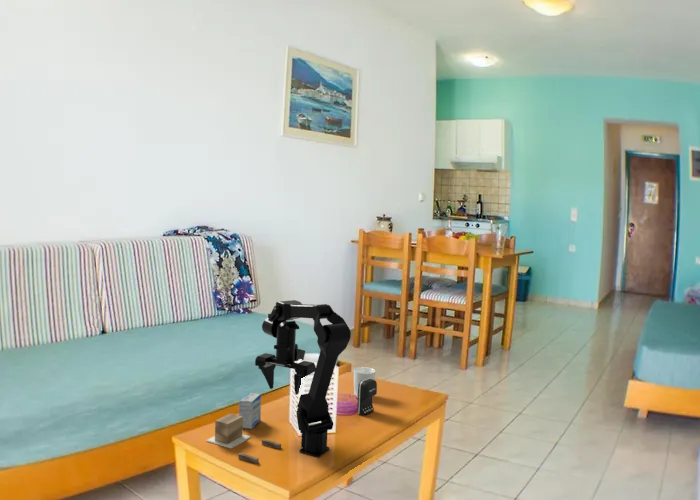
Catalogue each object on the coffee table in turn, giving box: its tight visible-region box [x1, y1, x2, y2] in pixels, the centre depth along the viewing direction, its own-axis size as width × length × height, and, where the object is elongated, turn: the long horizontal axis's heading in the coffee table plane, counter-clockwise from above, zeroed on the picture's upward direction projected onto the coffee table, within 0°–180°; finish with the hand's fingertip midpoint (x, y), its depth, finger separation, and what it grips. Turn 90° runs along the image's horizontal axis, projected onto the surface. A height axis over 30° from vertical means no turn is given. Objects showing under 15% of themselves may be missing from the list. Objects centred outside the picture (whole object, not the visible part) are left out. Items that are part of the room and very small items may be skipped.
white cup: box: [353, 366, 376, 396], centre depth 216 cm, size 8×8×10 cm
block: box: [214, 412, 244, 444], centre depth 173 cm, size 4×7×6 cm, turn 153°
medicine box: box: [238, 392, 262, 430], centre depth 186 cm, size 8×4×9 cm, turn 168°
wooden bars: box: [238, 438, 282, 465], centre depth 166 cm, size 6×12×1 cm, turn 153°
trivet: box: [205, 433, 251, 449], centre depth 174 cm, size 9×9×1 cm
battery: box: [356, 378, 378, 416], centre depth 200 cm, size 7×4×11 cm, turn 144°
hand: (284, 391), depth 182 cm, fingers open, 9 cm apart
